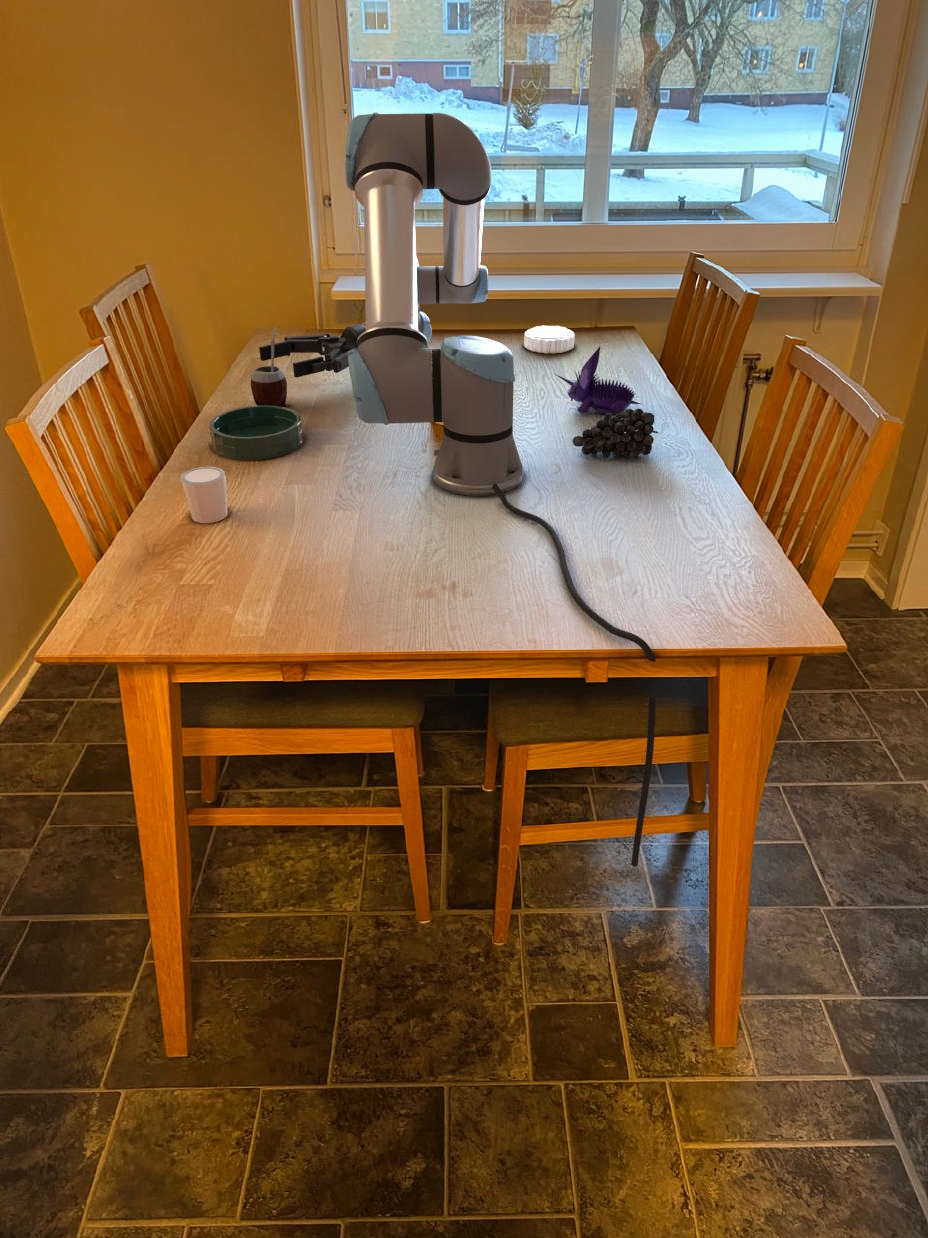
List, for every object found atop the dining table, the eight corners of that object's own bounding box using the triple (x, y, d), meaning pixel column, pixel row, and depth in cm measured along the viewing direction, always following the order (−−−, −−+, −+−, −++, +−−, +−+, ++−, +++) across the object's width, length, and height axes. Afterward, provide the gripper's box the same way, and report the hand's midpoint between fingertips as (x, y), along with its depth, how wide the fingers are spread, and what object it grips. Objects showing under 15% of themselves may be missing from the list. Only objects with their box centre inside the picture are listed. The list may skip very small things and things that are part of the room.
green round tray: (305, 456, 169) (303, 434, 167) (211, 463, 166) (207, 441, 164) (300, 422, 183) (298, 402, 180) (214, 429, 180) (210, 408, 178)
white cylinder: (220, 526, 146) (213, 485, 142) (180, 522, 147) (172, 482, 143) (238, 507, 152) (232, 467, 148) (199, 504, 153) (191, 464, 149)
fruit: (574, 410, 162) (661, 408, 161) (570, 409, 170) (653, 406, 169) (574, 461, 164) (660, 458, 163) (570, 457, 172) (652, 455, 171)
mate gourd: (258, 416, 185) (248, 341, 177) (249, 404, 192) (239, 330, 183) (295, 411, 188) (287, 336, 180) (285, 398, 194) (277, 326, 186)
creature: (553, 399, 192) (556, 340, 186) (641, 404, 190) (647, 344, 183) (549, 415, 185) (552, 354, 178) (641, 420, 183) (647, 358, 176)
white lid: (547, 335, 230) (548, 321, 228) (584, 346, 223) (585, 331, 221) (513, 345, 224) (513, 330, 222) (550, 357, 216) (550, 341, 214)
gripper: (400, 373, 191) (311, 396, 180) (335, 345, 207) (249, 365, 196) (399, 336, 187) (307, 358, 176) (332, 311, 203) (245, 329, 192)
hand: (276, 362), depth 186 cm, fingers open, 13 cm apart
